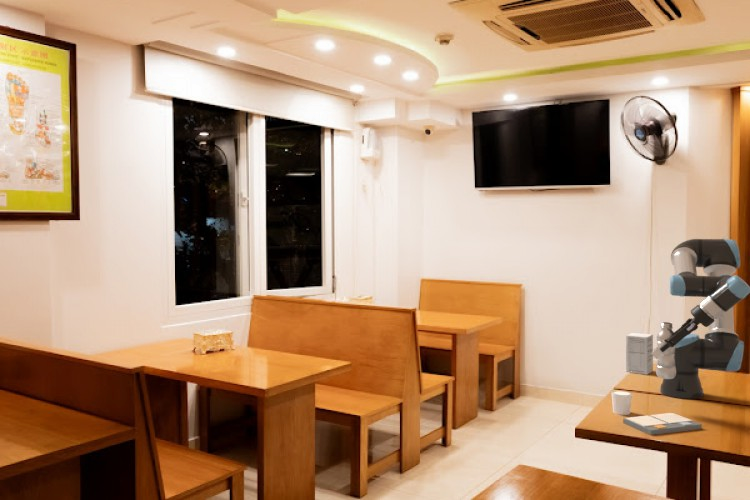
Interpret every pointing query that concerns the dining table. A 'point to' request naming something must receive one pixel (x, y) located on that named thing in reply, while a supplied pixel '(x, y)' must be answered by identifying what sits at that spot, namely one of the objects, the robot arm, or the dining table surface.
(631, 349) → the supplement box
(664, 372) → the plastic bottle
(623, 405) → the white cup
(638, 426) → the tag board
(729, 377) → the dining table surface
